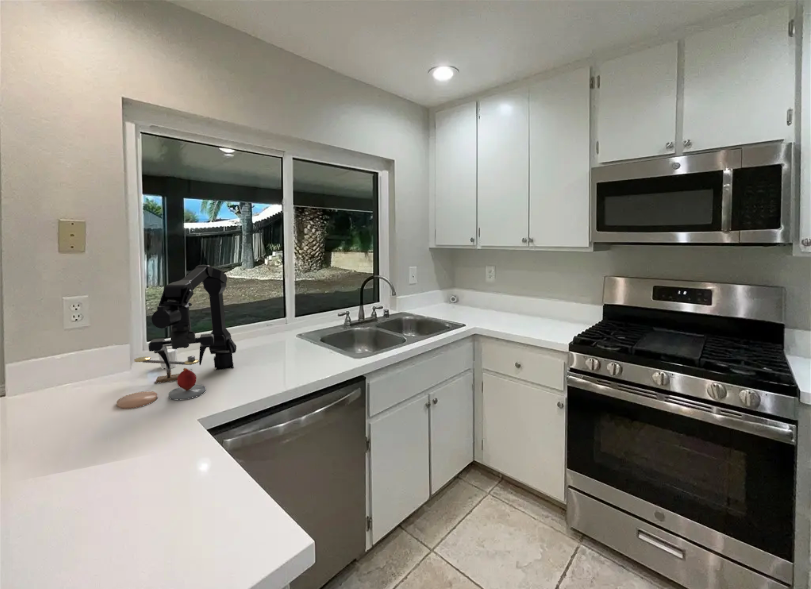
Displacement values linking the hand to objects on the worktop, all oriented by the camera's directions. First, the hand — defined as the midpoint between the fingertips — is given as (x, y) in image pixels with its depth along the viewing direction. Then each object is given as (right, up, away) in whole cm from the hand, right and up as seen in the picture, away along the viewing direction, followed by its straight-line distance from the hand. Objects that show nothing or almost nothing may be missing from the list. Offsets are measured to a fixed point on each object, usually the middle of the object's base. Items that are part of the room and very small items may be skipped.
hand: (185, 366), depth 133 cm
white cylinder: (-23, -6, +30) cm, 39 cm away
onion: (0, -9, +2) cm, 9 cm away
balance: (-14, -8, +15) cm, 22 cm away
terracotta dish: (-13, -11, -4) cm, 17 cm away
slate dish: (0, -10, +2) cm, 10 cm away
